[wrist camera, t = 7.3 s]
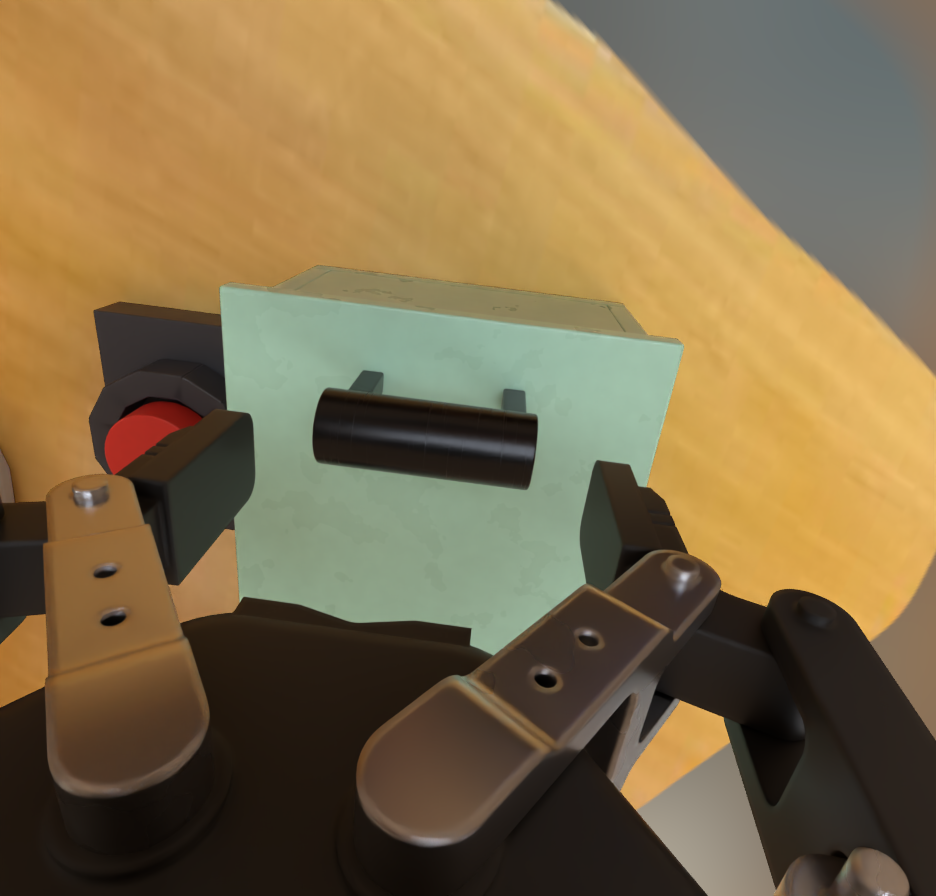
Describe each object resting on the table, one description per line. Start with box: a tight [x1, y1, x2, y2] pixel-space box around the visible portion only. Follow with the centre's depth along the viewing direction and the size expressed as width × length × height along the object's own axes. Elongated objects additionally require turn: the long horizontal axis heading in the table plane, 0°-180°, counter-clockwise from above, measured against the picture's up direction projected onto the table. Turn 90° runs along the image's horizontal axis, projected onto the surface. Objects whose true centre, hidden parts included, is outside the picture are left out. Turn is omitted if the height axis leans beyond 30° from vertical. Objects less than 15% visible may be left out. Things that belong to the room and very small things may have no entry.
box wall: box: [273, 265, 648, 335], centre depth 27 cm, size 17×14×9 cm
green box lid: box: [219, 282, 684, 655], centre depth 20 cm, size 18×14×6 cm
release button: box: [105, 401, 203, 475], centre depth 27 cm, size 4×4×2 cm
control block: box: [89, 302, 235, 530], centre depth 30 cm, size 11×8×4 cm
